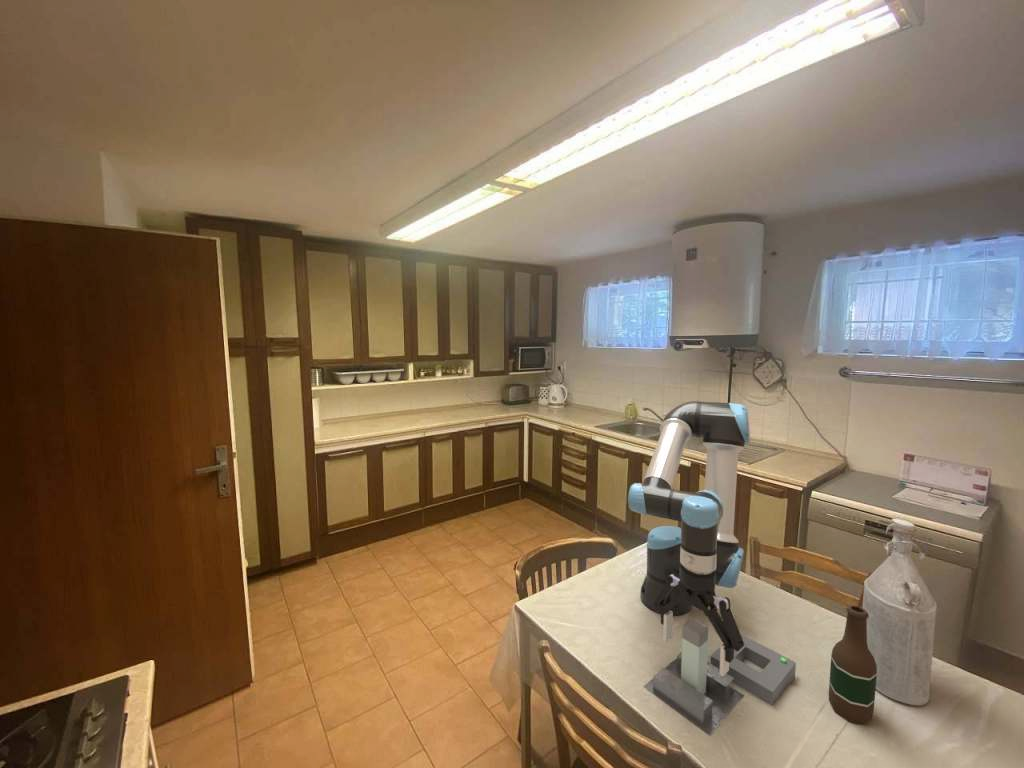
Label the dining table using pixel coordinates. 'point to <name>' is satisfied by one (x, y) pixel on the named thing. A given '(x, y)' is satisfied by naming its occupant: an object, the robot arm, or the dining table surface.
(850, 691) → the beer bottle
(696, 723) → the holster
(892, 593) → the canister
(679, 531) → the robot arm
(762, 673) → the port
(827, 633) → the dining table surface
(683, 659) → the plug
